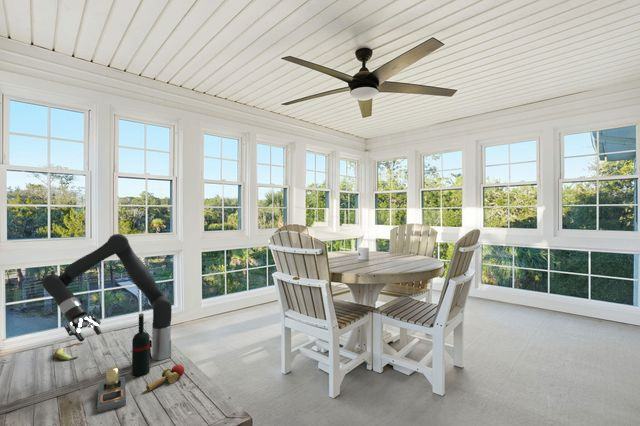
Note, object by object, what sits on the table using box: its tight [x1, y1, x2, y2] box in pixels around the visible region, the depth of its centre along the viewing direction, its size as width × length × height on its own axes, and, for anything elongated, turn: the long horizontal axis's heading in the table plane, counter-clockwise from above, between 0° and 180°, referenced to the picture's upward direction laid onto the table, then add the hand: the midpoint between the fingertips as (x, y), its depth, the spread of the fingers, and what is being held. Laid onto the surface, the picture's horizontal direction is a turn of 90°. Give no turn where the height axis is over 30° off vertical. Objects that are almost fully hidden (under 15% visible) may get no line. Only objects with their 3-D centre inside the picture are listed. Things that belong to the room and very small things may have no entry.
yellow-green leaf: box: [47, 342, 84, 371], centre depth 179 cm, size 35×27×4 cm
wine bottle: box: [131, 313, 153, 378], centre depth 162 cm, size 8×10×30 cm
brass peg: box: [105, 366, 119, 390], centre depth 145 cm, size 4×4×10 cm
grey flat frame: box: [96, 376, 127, 414], centre depth 141 cm, size 10×22×3 cm, turn 33°
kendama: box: [145, 364, 185, 392], centre depth 153 cm, size 8×6×18 cm
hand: (91, 337), depth 148 cm, fingers open, 8 cm apart
